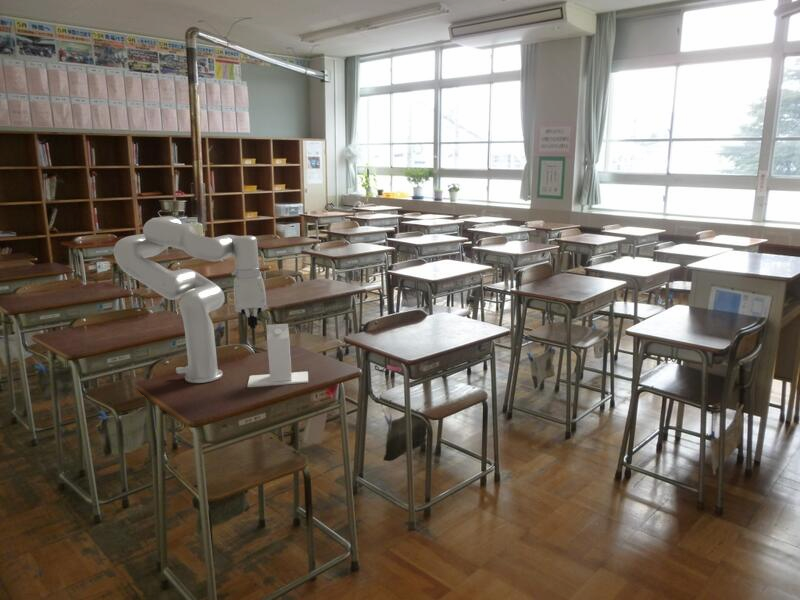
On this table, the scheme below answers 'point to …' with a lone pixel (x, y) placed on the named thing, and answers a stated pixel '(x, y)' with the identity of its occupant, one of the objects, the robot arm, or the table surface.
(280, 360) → the milk carton
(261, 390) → the table surface
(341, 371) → the table surface
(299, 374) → the mat
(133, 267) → the robot arm
